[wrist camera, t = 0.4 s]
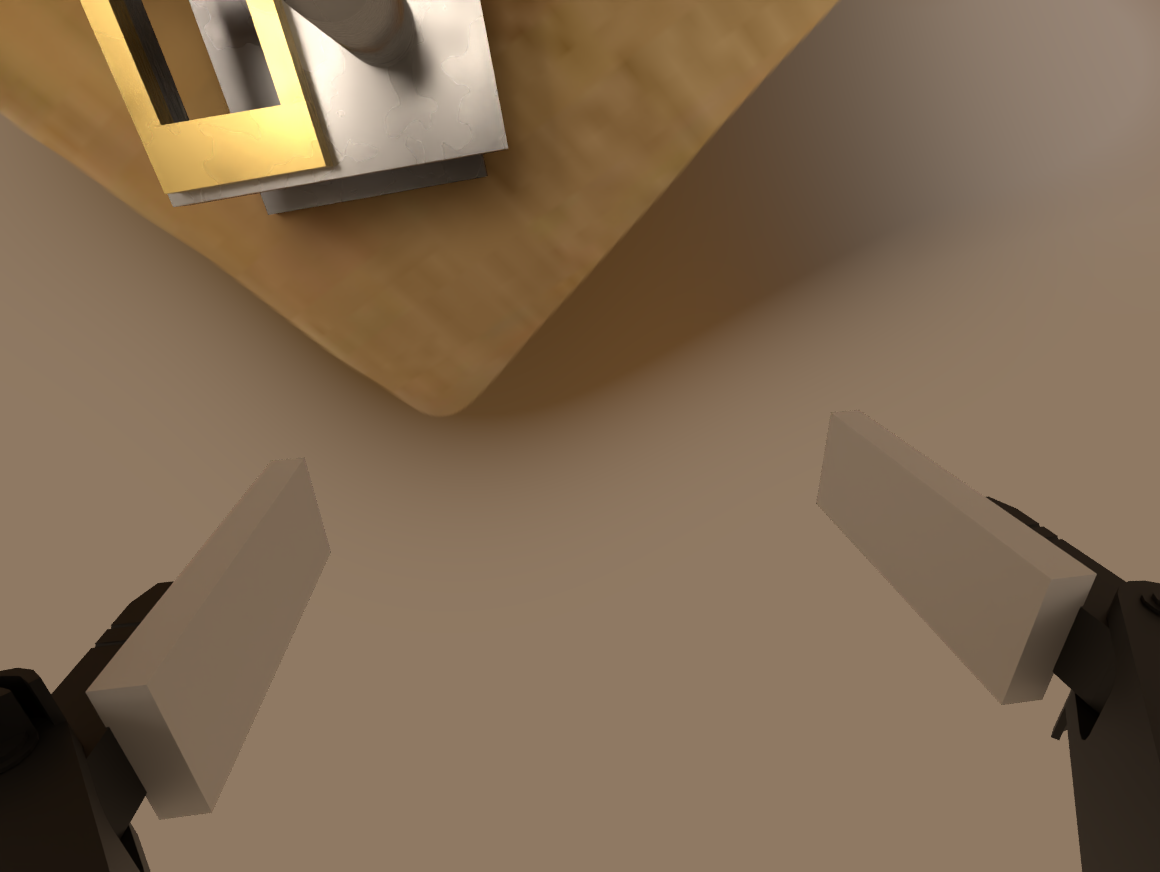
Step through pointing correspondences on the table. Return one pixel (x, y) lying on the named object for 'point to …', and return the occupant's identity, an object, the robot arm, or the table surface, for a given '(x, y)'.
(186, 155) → the grey and yellow stand
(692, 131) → the table surface
